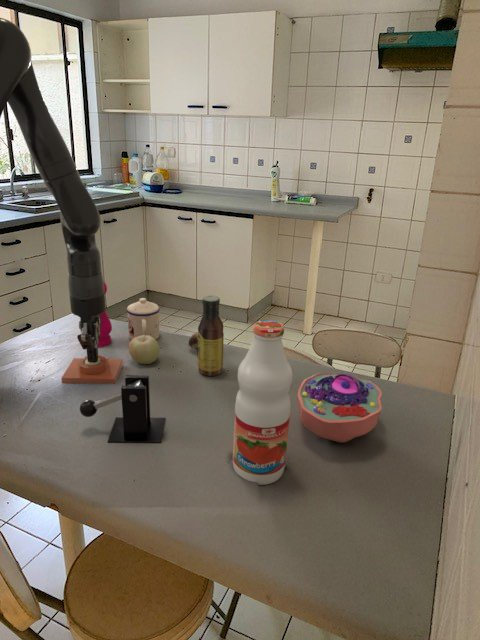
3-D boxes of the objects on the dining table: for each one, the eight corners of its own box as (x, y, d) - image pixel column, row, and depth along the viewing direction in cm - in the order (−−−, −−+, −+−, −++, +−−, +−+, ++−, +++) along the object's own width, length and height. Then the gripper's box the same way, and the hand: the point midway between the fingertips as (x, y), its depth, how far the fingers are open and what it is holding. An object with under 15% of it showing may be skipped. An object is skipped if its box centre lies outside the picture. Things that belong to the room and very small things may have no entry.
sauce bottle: (204, 363, 120) (205, 291, 112) (226, 368, 118) (229, 295, 110) (193, 374, 114) (193, 299, 107) (216, 380, 112) (218, 303, 105)
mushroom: (213, 349, 120) (209, 326, 122) (186, 356, 123) (182, 334, 124) (224, 352, 128) (220, 330, 129) (198, 358, 130) (194, 337, 131)
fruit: (159, 354, 124) (159, 327, 121) (159, 367, 117) (158, 339, 114) (130, 355, 123) (129, 327, 120) (128, 368, 116) (126, 339, 113)
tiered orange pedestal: (62, 386, 107) (60, 371, 105) (74, 366, 116) (72, 351, 114) (114, 386, 107) (113, 371, 106) (122, 366, 117) (122, 352, 115)
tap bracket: (107, 446, 87) (103, 392, 83) (116, 422, 95) (112, 371, 90) (161, 447, 88) (159, 393, 83) (165, 422, 95) (164, 371, 91)
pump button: (83, 370, 109) (82, 364, 108) (87, 363, 112) (86, 357, 112) (99, 371, 109) (98, 364, 108) (102, 364, 112) (101, 357, 112)
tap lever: (83, 422, 88) (74, 409, 87) (87, 413, 91) (79, 400, 89) (145, 398, 86) (137, 385, 85) (147, 389, 89) (139, 376, 88)
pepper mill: (80, 343, 128) (73, 273, 121) (101, 335, 134) (96, 268, 126) (97, 350, 124) (91, 279, 117) (118, 341, 130) (114, 273, 122)
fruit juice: (279, 451, 88) (292, 314, 78) (288, 486, 80) (304, 337, 69) (230, 452, 87) (236, 314, 77) (234, 487, 79) (241, 337, 68)
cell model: (274, 435, 93) (278, 386, 88) (321, 395, 108) (327, 352, 103) (352, 472, 83) (361, 419, 79) (392, 423, 98) (401, 376, 94)
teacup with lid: (128, 331, 137) (126, 294, 133) (159, 329, 139) (158, 293, 134) (127, 348, 126) (125, 308, 122) (161, 347, 128) (160, 307, 124)
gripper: (78, 282, 109) (84, 348, 116) (60, 301, 97) (69, 374, 104) (110, 283, 110) (114, 349, 116) (97, 302, 98) (102, 374, 104)
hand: (93, 360), depth 110 cm, fingers closed
